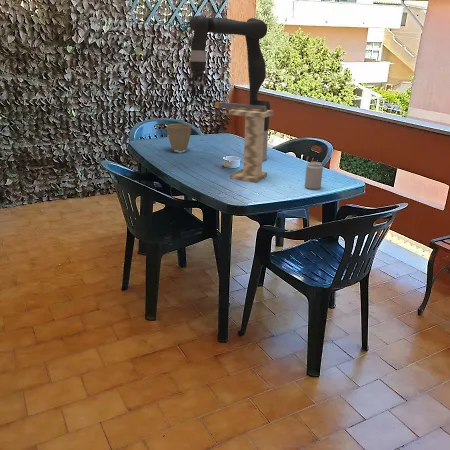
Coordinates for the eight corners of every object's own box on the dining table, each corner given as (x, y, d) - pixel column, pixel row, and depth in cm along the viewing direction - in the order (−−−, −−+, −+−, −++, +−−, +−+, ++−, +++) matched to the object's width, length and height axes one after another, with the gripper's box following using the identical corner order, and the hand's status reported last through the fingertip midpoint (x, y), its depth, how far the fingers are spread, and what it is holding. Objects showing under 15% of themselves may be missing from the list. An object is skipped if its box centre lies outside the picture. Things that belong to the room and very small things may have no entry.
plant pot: (163, 150, 281) (162, 124, 276) (185, 148, 288) (185, 123, 282) (172, 155, 269) (171, 128, 263) (195, 153, 276) (195, 126, 270)
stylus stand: (226, 178, 226) (228, 108, 214) (238, 171, 238) (240, 105, 225) (259, 183, 219) (263, 111, 206) (270, 176, 230) (274, 108, 218)
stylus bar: (215, 107, 223) (215, 102, 222) (217, 107, 225) (217, 101, 224) (264, 111, 212) (264, 106, 211) (266, 111, 214) (266, 105, 213)
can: (308, 190, 210) (311, 165, 205) (301, 186, 216) (304, 161, 212) (323, 189, 212) (326, 164, 207) (316, 185, 218) (318, 160, 214)
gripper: (198, 60, 214) (197, 96, 220) (211, 61, 226) (210, 94, 232) (184, 60, 217) (184, 95, 222) (197, 60, 229) (197, 93, 235)
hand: (197, 95), depth 227 cm, fingers open, 8 cm apart
